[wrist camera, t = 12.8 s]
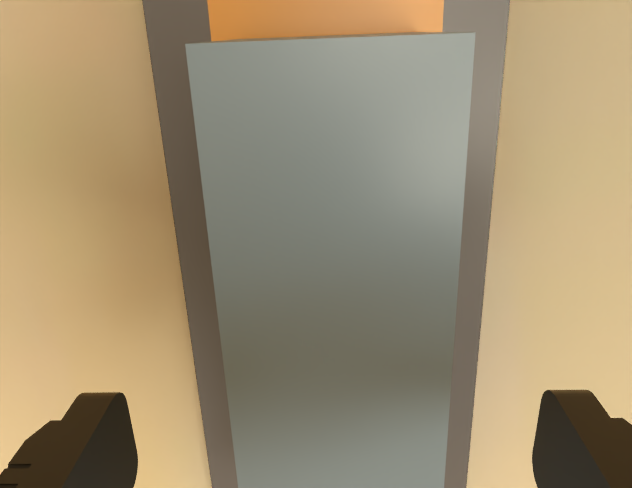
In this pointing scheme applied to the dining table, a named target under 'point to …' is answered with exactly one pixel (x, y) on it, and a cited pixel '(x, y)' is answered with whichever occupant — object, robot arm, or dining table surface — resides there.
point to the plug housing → (335, 248)
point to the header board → (187, 194)
